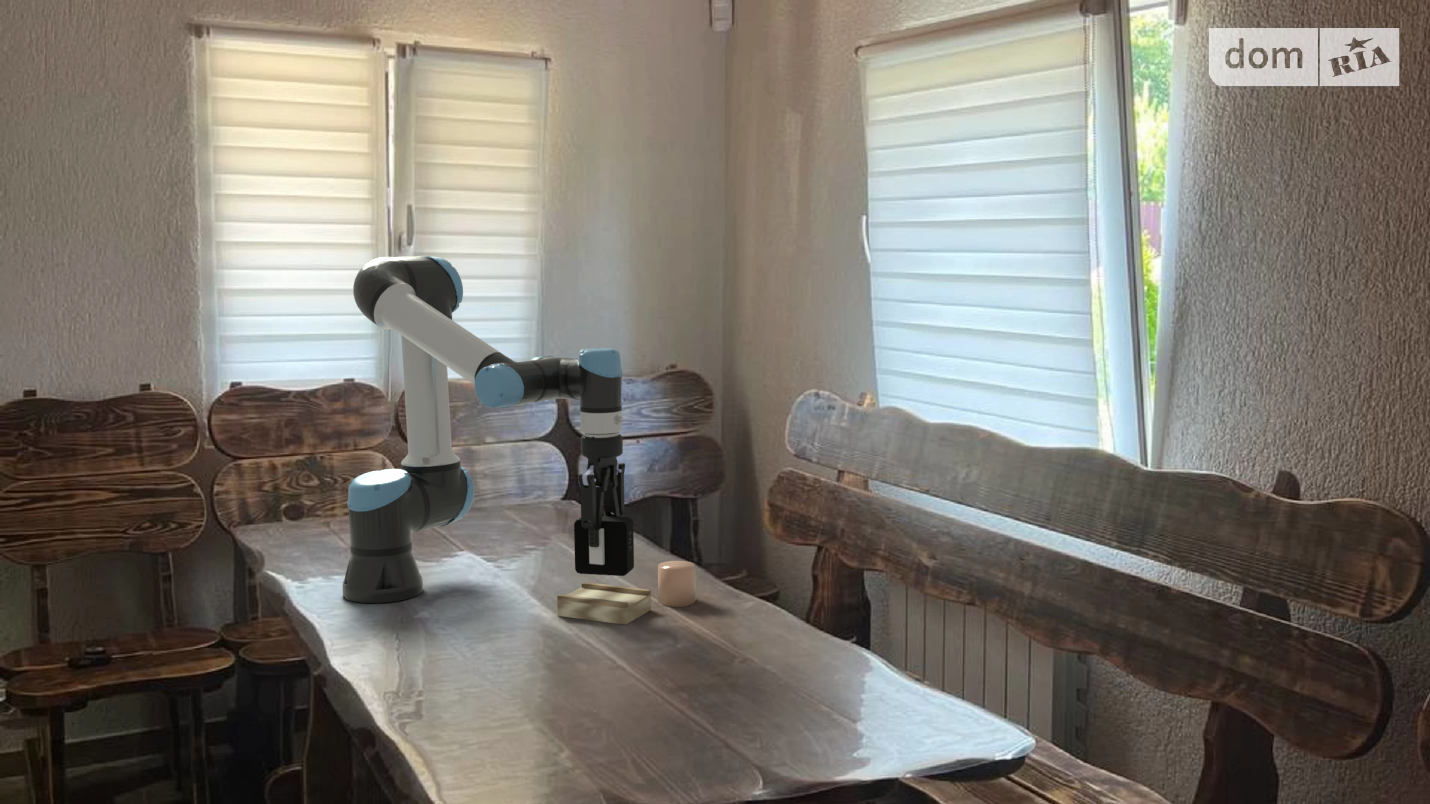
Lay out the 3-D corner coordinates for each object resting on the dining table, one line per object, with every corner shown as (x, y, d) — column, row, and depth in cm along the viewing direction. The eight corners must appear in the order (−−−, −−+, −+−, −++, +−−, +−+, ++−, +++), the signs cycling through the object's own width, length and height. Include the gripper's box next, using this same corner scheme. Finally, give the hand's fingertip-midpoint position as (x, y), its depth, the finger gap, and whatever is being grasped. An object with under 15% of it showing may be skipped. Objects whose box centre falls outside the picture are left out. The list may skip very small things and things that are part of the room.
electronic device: (627, 576, 235) (626, 522, 234) (574, 573, 238) (573, 519, 237) (634, 570, 239) (633, 517, 238) (582, 567, 242) (581, 514, 241)
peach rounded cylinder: (652, 604, 245) (651, 567, 244) (668, 594, 252) (667, 559, 251) (685, 608, 243) (685, 571, 242) (701, 598, 249) (701, 562, 248)
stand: (557, 615, 238) (557, 595, 238) (584, 601, 247) (584, 581, 247) (625, 624, 232) (625, 604, 232) (650, 609, 242) (650, 589, 241)
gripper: (596, 442, 226) (598, 573, 229) (642, 428, 242) (644, 551, 245) (558, 440, 229) (561, 569, 232) (606, 426, 245) (609, 547, 248)
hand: (604, 559), depth 238 cm, fingers closed on electronic device, 5 cm apart
